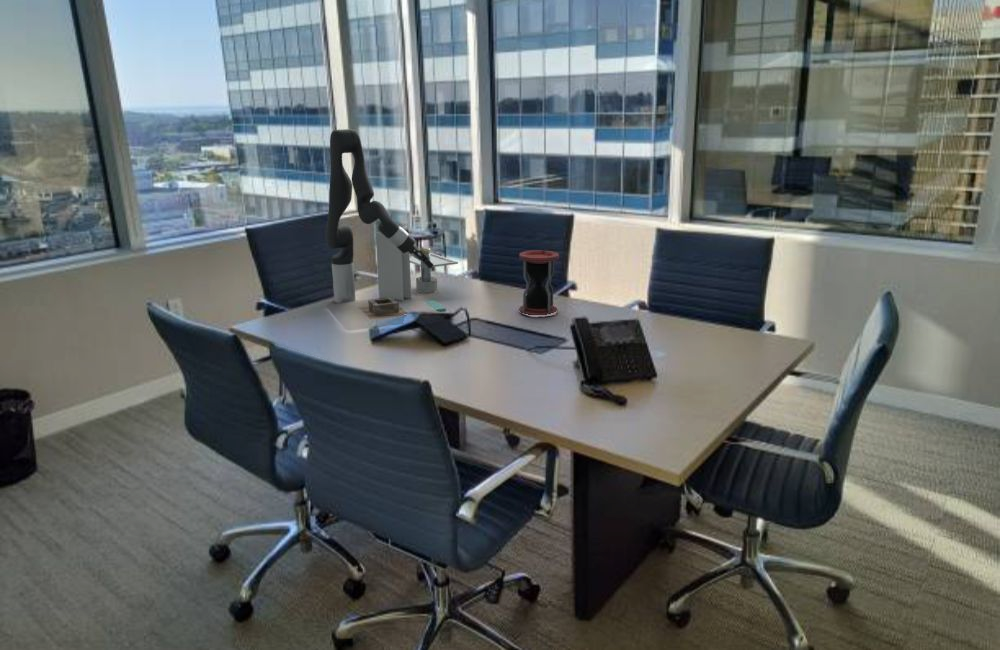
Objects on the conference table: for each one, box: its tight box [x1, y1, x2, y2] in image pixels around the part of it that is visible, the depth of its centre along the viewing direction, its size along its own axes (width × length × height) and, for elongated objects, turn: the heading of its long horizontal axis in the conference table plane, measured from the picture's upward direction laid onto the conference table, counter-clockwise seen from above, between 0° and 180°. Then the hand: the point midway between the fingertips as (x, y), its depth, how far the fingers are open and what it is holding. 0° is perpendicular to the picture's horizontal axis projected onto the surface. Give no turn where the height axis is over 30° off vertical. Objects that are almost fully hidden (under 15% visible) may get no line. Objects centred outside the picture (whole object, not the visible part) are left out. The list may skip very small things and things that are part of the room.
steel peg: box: [419, 246, 432, 282], centre depth 288 cm, size 4×4×14 cm
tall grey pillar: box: [375, 231, 412, 301], centre depth 304 cm, size 14×6×30 cm, turn 58°
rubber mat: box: [424, 300, 447, 312], centre depth 294 cm, size 14×12×1 cm
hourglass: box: [518, 249, 560, 315], centre depth 284 cm, size 16×16×25 cm
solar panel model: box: [410, 252, 459, 294], centre depth 322 cm, size 28×17×15 cm, turn 34°
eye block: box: [358, 297, 408, 320], centre depth 286 cm, size 20×16×5 cm
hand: (430, 265), depth 289 cm, fingers closed on steel peg, 4 cm apart
